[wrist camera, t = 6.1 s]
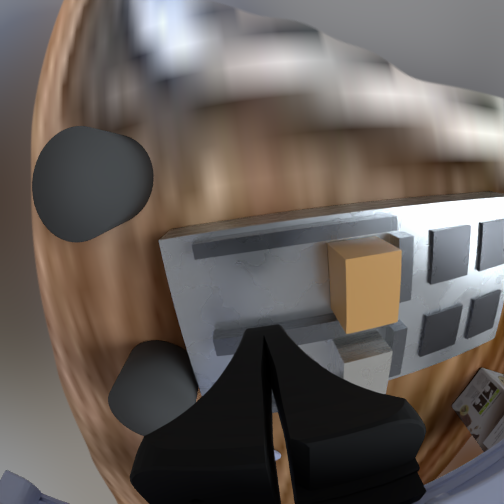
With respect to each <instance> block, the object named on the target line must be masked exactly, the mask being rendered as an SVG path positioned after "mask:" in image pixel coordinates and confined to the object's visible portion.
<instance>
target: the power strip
mask: <svg viewBox="0 0 504 504" xmlns="http://www.w3.org/2000/svg"><path fill="white" fill-rule="evenodd" d="M372 236H377V237H379V238H381V239H383V240H385V241H386V242H388V243H390V244H392V245H394V246H395V247H397V248H399V249H401V250H402V258H401V285H400V301H399V313H398V322H396V323H392V324H388V325H384V326H380V327H376V328H372V329H367V330H363V331H359V332H354V333H350V334H346V333H345V331H344V329H343V328H342V326H341V324H340V323H339V321H338V319H337V318H336V316H335V314H334V313H333V311H332V310H331V302H330V279H329V261H328V246H327V243H332V242H338V241H345V240H352V239H359V238H366V237H372ZM159 245H160V250H161V254H162V259H163V263H164V267H165V271H166V275H167V280H168V284H169V288H170V292H171V295H172V299H173V303H174V307H175V310H176V314H177V318H178V321H179V325H180V328H181V332H182V335H183V339H184V342H185V345H186V349H187V352H188V355H189V358H190V361H191V365H192V368H193V371H194V374H195V377H196V380H197V383H198V386H199V389H200V392H201V394H202V396H203V395H204V394H205V393H206V392H207V391H208V390H209V389H210V388H211V387H212V386H213V384H214V383H215V382H216V381H217V379H218V378H219V377H220V376H221V374H222V373H223V371H224V370H225V368H226V367H227V365H228V364H229V362H230V361H231V359H232V357H233V355H234V353H235V352H236V350H237V348H238V346H239V344H240V342H241V339H242V337H243V334H244V331H245V330H246V329H248V328H255V327H262V326H269V325H276V324H279V325H281V326H282V327H283V329H284V330H285V332H286V333H287V334H288V335H289V337H290V338H291V339H292V340H293V341H294V342H295V343H296V344H297V345H298V346H299V347H300V348H301V349H302V350H303V351H304V352H305V353H306V354H307V355H308V356H310V357H311V358H312V359H313V360H314V361H316V362H317V363H318V364H320V365H321V366H322V367H324V368H325V369H327V370H328V371H330V372H331V373H333V374H335V375H337V376H338V377H340V378H342V379H345V380H347V381H349V382H351V383H353V384H355V385H358V386H360V387H363V388H366V389H369V390H372V391H375V392H378V393H382V394H386V389H387V384H388V380H391V379H394V378H397V377H400V376H403V375H406V374H409V373H412V372H415V371H418V370H421V369H424V368H426V367H429V366H432V365H434V364H437V363H440V362H442V361H445V360H447V359H450V358H452V357H454V356H457V355H459V354H461V353H464V352H466V351H468V350H470V349H473V348H475V347H477V346H479V345H481V344H483V343H485V342H487V341H489V340H492V339H494V338H495V334H496V331H497V327H498V323H499V319H500V315H501V311H502V306H503V302H504V194H501V193H496V192H475V193H460V194H447V195H434V196H423V197H412V198H401V199H391V200H381V201H371V202H362V203H353V204H344V205H336V206H327V207H319V208H311V209H303V210H295V211H288V212H280V213H273V214H266V215H259V216H252V217H245V218H238V219H232V220H225V221H219V222H212V223H206V224H200V225H194V226H187V227H181V228H175V229H171V230H170V231H168V232H167V233H166V234H165V235H164V236H163V237H162V238H161V239H159ZM274 412H278V410H277V407H276V403H275V399H274V395H273V391H272V413H274Z"/></svg>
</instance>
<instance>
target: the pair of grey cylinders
mask: <svg viewBox="0 0 504 504" xmlns="http://www.w3.org/2000/svg"><path fill="white" fill-rule="evenodd" d="M152 187H153V168H152V163H151V161H150V158H149V156H148V154H147V152H146V151H145V149H144V148H143V147H142V146H141V145H140V144H139V143H138V142H137V141H135V140H134V139H132V138H130V137H127V136H124V135H120V134H116V133H112V132H108V131H103V130H99V129H95V128H90V127H85V126H76V127H71V128H67V129H65V130H63V131H61V132H59V133H58V134H56V135H55V136H54V137H53V138H52V139H51V140H50V141H49V142H48V143H47V144H46V145H45V147H44V148H43V150H42V151H41V153H40V155H39V157H38V160H37V162H36V165H35V169H34V173H33V181H32V192H33V199H34V204H35V207H36V210H37V213H38V215H39V217H40V219H41V220H42V222H43V224H44V225H45V226H46V227H47V229H48V230H49V231H50V232H51V233H53V234H54V235H55V236H57V237H59V238H61V239H63V240H65V241H69V242H84V241H88V240H91V239H93V238H95V237H97V236H99V235H101V234H102V233H104V232H106V231H108V230H110V229H112V228H114V227H116V226H118V225H120V224H122V223H124V222H126V221H128V220H130V219H132V218H133V217H135V216H136V215H137V214H138V213H139V212H140V211H141V210H142V209H143V208H144V206H145V205H146V203H147V201H148V199H149V197H150V194H151V191H152ZM197 392H198V383H197V380H196V377H195V374H194V371H193V368H192V365H191V361H190V358H189V355H188V352H186V351H185V350H184V349H182V348H181V347H179V346H177V345H175V344H172V343H169V342H165V341H159V340H151V341H146V342H143V343H140V344H139V345H137V346H136V347H135V348H134V349H133V350H132V351H131V353H130V355H129V357H128V359H127V361H126V362H125V364H124V366H123V368H122V370H121V372H120V374H119V376H118V378H117V380H116V381H115V383H114V385H113V387H112V389H111V391H110V393H109V397H108V403H109V406H110V409H111V411H112V413H113V414H114V416H115V417H116V418H117V419H118V420H119V421H120V422H121V423H122V424H123V425H124V426H126V427H127V428H129V429H130V430H132V431H134V432H136V433H138V434H140V435H143V436H145V435H147V434H149V433H151V432H153V431H155V430H157V429H158V428H160V427H162V426H164V425H166V424H167V423H169V422H170V421H172V420H174V419H175V418H176V417H178V416H179V415H181V414H182V413H184V412H185V411H186V410H187V409H189V408H190V407H191V406H192V405H194V404H195V403H196V398H197Z"/></svg>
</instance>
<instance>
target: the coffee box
mask: <svg viewBox="0 0 504 504" xmlns="http://www.w3.org/2000/svg"><path fill="white" fill-rule="evenodd" d="M452 408H453V409H454V410H455V412H456V413H457V415H458V416H459V417H460V419H461V420H462V421H463V423H464V424H465V426H466V427H467V428H468V430H469V431H470V433H471V434H472V435H473V437H474V438H475V440H476V441H477V443H478V444H479V445H480V447H481V448H482V450H483V451H484V452H485V451H487V450H488V449H490V448H491V447H493V446H494V445H496V444H497V443H499V442H500V441H501V440H503V439H504V374H501V373H497V372H494V371H491V370H488V369H484V368H481V369H480V370H479V371H478V373H477V374H476V376H475V377H474V378H473V380H472V381H471V382H470V383H469V385H468V386H467V387H466V389H465V390H464V391H463V392H462V394H461V395H460V396H459V397H458V398H457V400H456V401H455V402H454V403H453V404H452Z"/></svg>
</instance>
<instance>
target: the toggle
mask: <svg viewBox="0 0 504 504" xmlns="http://www.w3.org/2000/svg"><path fill="white" fill-rule="evenodd" d="M327 246H328V261H329V279H330V302H331V310H332V311H333V313H334V314H335V316H336V318H337V319H338V321H339V323H340V324H341V326H342V328H343V329H344V331H345V333H346V334H350V333H354V332H359V331H363V330H367V329H372V328H376V327H380V326H384V325H388V324H392V323H396V322H398V313H399V301H400V285H401V258H402V250H401V249H399V248H397V247H395V246H394V245H392V244H390V243H388V242H386V241H385V240H383V239H381V238H379V237H377V236H372V237H366V238H359V239H352V240H345V241H338V242H332V243H327Z"/></svg>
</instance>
